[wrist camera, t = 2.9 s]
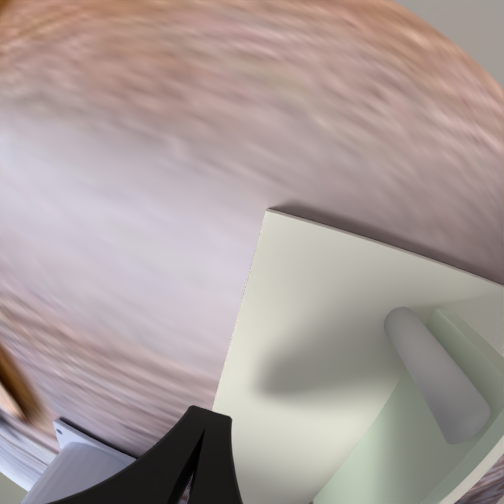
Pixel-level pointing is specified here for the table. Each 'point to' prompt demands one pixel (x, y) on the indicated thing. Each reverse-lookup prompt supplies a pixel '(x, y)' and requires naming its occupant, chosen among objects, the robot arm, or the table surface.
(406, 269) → the gate frame
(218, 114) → the table surface
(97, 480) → the robot arm
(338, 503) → the gate
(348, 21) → the table surface
